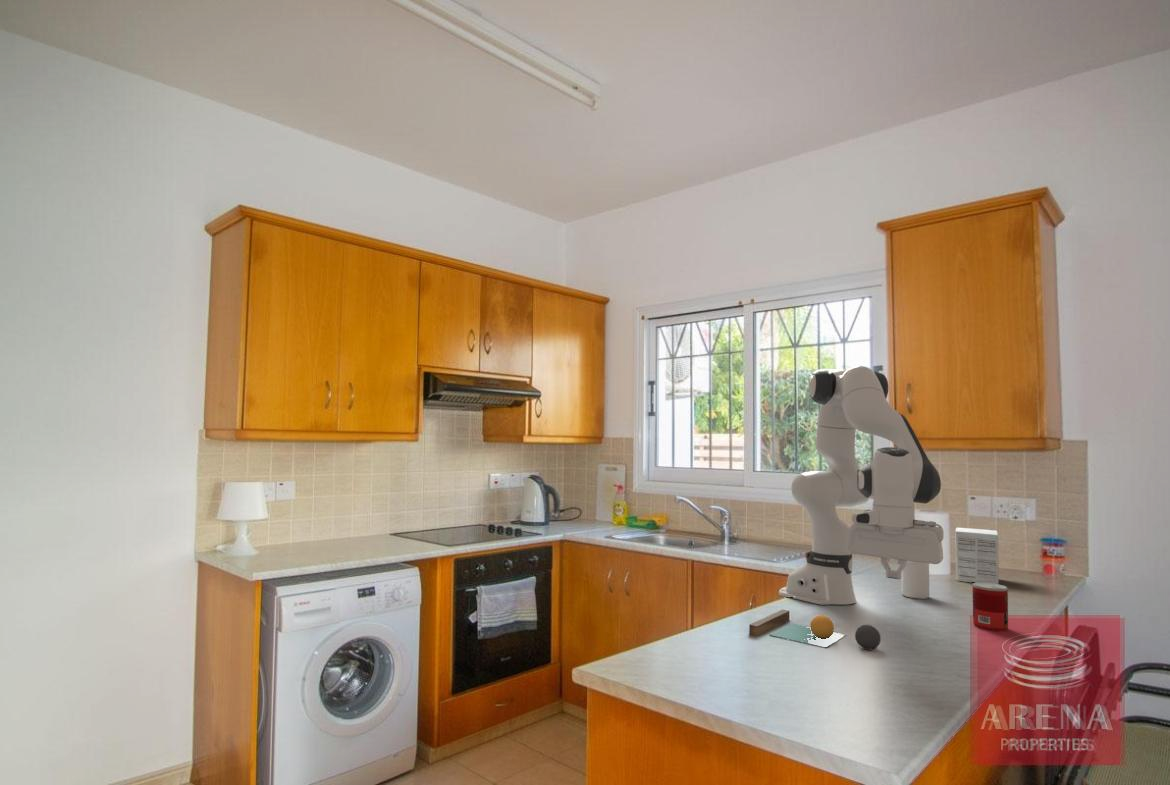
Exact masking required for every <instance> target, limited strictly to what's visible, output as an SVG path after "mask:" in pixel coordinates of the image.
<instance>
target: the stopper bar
mask: <svg viewBox="0 0 1170 785" xmlns="http://www.w3.org/2000/svg"><path fill="white" fill-rule="evenodd" d="M788 620H789V621H790V610H786V609H780V610H778V611H776V612H774V613H771V614H769V615H768V616H765V617H763V618H761V619H758V620H756V621H754V622H752V623H750V624H749V629H748V630H749V631H748V632H749V636H753V637H757V638H758V637H759V636H761V635H763V634H765V633H767V632H769V631H771V630H774V629H775V628H776V627H779V626H781V625H783V624H784V623H785V624H786V623H787V622H789V621H788ZM786 621H787V622H786Z"/></svg>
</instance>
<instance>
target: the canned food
mask: <svg viewBox="0 0 1170 785" xmlns="http://www.w3.org/2000/svg"><path fill="white" fill-rule="evenodd" d="M972 622H973V625H974V627H976V628H978V629H981V630H986V631H992V632H1006V631H1008V628H1009V590H1008V587H1007V586H1006V585H1004V584H1003V585H1002V584H993V583H984V582H977V583H972Z"/></svg>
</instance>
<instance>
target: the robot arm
mask: <svg viewBox="0 0 1170 785" xmlns="http://www.w3.org/2000/svg"><path fill="white" fill-rule="evenodd" d="M808 392H809V397H810V399H811V400H812V401H813V403H815V404H819V405H820V407H819V411H818V412H819V413H818V417H817V426H816V427H817V428H816V439H815V448H816V451H817V453H818V454H819V455H820V456H821V457H823V458H824V459H825V460H826V462H827V464H828V470H810V471H806V472H801V473H798V474H797V475H796V476H795V477H794V478H793V480H792V482H791V487H790V489H791V493H792V494H791V495H792V497H793V498H794V500H795V502H796V503H797V504H799V505H800V506H801V507H802V508H803V510H804V511H805V513H806V514H807V517H808V519H809V522H810V527H811V540H812V545H811V546H812V548H811V549H810V550H809V551H808V552H806V553H804V558H806V562H805V563H803V564H801V565H800V566H799V567H797V568H796V569H794V570H792V571H791V572H790V573H789V574H788V577H787V580H786V586H784V587H781V588H780V589H779V591H778V594H779V596H783V597H788V598H790V597H793V598H792V599H795V600H798V601H799V600H800V601H804V602H808V603H812V604H816V605H817V604H818V605H820V606H821V605H822V606H823V605H824V606H825V605H827V606H828V605H851V604H856V603H857V599H856V594H855V592H854V591H855V590H854V585H853V578H852V577H853V576H852V573H853V569H854V568H853V565H854V563H853V554H854V555H860V556H868V557H876V558H880V564H881V565H882V567H883V568H884V570H885V578H887V579H894V580H901V571H902V570H903V569H904V567H905V566H906V564H907V561H914V562H921V563H929V565H930V564H931V565H939V564H940V563H942V562H943V560H944V552H943V543H942V541H943V540H944V528H943V527H942V526H941V525H940V524H939V523H937V522H935V521H931V520H930V521H925V520H919V519H916V518H915V517H916V516H915V513H916V512H915V511H916V510H915V508H916V507H915V503H916V504H917V503H918V504H925V505H926V504H928V503H930V502H931V501H933V500H934V499H935V498H936V497H937V496H938V495H939V493H940V492H941V490H942V489H941V488H942V482H941V476H940V473H939V471H938V470H937V468H936V467H935V465H934V464H933V463H932V462H931V460H930V459H929V457H928V456H927V453H926V451H925V450H924V448H923V446H922V445H921V443H920V441H919V439H918V437H917V435H916V433H915V430H914V429H913V427H912V426H911V424H910V422H909V420H908V419H907V417H906V416H905V415H904V414H902V413H900V412H898V411H897V409H895V408H893V406H892V405H891V403H889V401H888V400H887V398H888V395H889V381H888V378H887V376H885V374H884V373H882V372H879V371H874V370H873V369H871V368H869V367H867V366H866V365H865V366H864V365H856V366H853V367H849V368H848V369H846V368H845V369H844V368H843V369H840V368H838V369H837V368H836V369H828V368H823V369H822V368H821V369H817V370H815V371H814V372H813V373H812V374H811V376H810V379H809V382H808ZM856 430H857V431H859V432H862V433H865V434H870V435H873V436H877V437H880V438H883V439H885V440H888V441H889V442H892V443H893V444H895V445H896V447H893V446H892V447H889V446H887V447H880V448H877V449H876V450H875V452H874V456H873V458H872V460H869V461H866V462H864V463H863V464H862V465H861V466H860V467H859V464H858V462H857V459H856V452H855V450H856V447H855V446H856V445H855V444H856V432H857V431H856ZM869 500H873V502H872V509H867V510H866V509H865V510H864V511H858V512H856V513H853V514H852V515H851V521H852V523H853V524H851V525H850V526H849V525H848V524H847V523H846V522H845V521H843V520H841V519H840V518H839V517H838V514H837V509H836V508H841V507H842V508H846V507H847V508H848V507H849V508H851V507H856V506H859V505H863V504H866V503H867V502H868V501H869ZM890 560H897V565H899V567H898V568H897V570H896V569H892V568H891V567H890V565H889V562H890ZM794 596H795V597H794Z"/></svg>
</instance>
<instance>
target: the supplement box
mask: <svg viewBox="0 0 1170 785" xmlns="http://www.w3.org/2000/svg"><path fill="white" fill-rule="evenodd" d="M954 532H955V535H954V536H955V581H957V582H965V583H972V582H976V583H977V582H984V583H993V584H999V582H1000V581H999V580H1000V579H999V578H1000V575H999V573H1000V572H999V570H1000V568H999V567H1000V566H999V560H1000V559H999V555H1000V554H999V534H998V530H993V529H992V530H991V529H983V528H982V529H980V528H970V527H969V528H968V527H956V528H955V531H954ZM999 585H1000V584H999Z"/></svg>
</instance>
